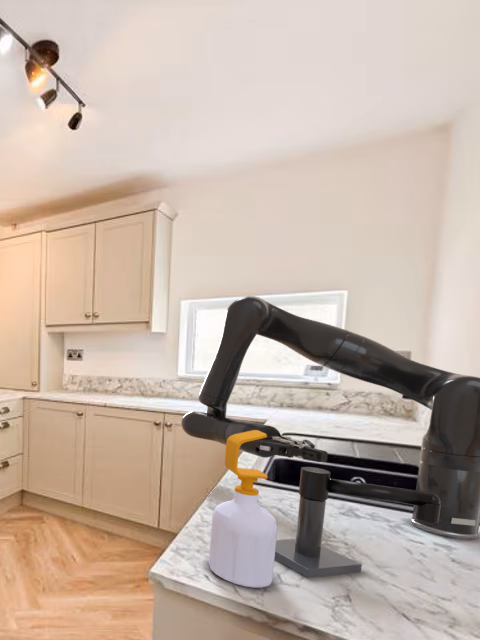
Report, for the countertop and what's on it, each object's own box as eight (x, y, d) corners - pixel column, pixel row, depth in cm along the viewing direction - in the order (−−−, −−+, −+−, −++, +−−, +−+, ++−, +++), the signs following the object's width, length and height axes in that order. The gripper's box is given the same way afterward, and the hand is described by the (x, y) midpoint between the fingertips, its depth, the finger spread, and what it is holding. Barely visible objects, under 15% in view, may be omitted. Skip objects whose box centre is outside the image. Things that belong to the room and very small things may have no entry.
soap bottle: (283, 592, 66) (298, 439, 64) (220, 585, 68) (232, 435, 66) (256, 563, 75) (269, 427, 73) (201, 557, 77) (211, 424, 74)
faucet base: (304, 544, 82) (310, 486, 81) (361, 572, 73) (368, 507, 71) (256, 549, 80) (262, 489, 79) (307, 578, 71) (315, 510, 69)
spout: (432, 517, 69) (436, 483, 69) (443, 525, 66) (448, 490, 65) (296, 495, 78) (299, 465, 77) (300, 502, 75) (303, 471, 74)
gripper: (229, 423, 100) (298, 439, 83) (276, 421, 103) (353, 437, 86) (227, 454, 101) (295, 476, 84) (273, 452, 104) (349, 473, 87)
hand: (324, 457), depth 85 cm, fingers closed
